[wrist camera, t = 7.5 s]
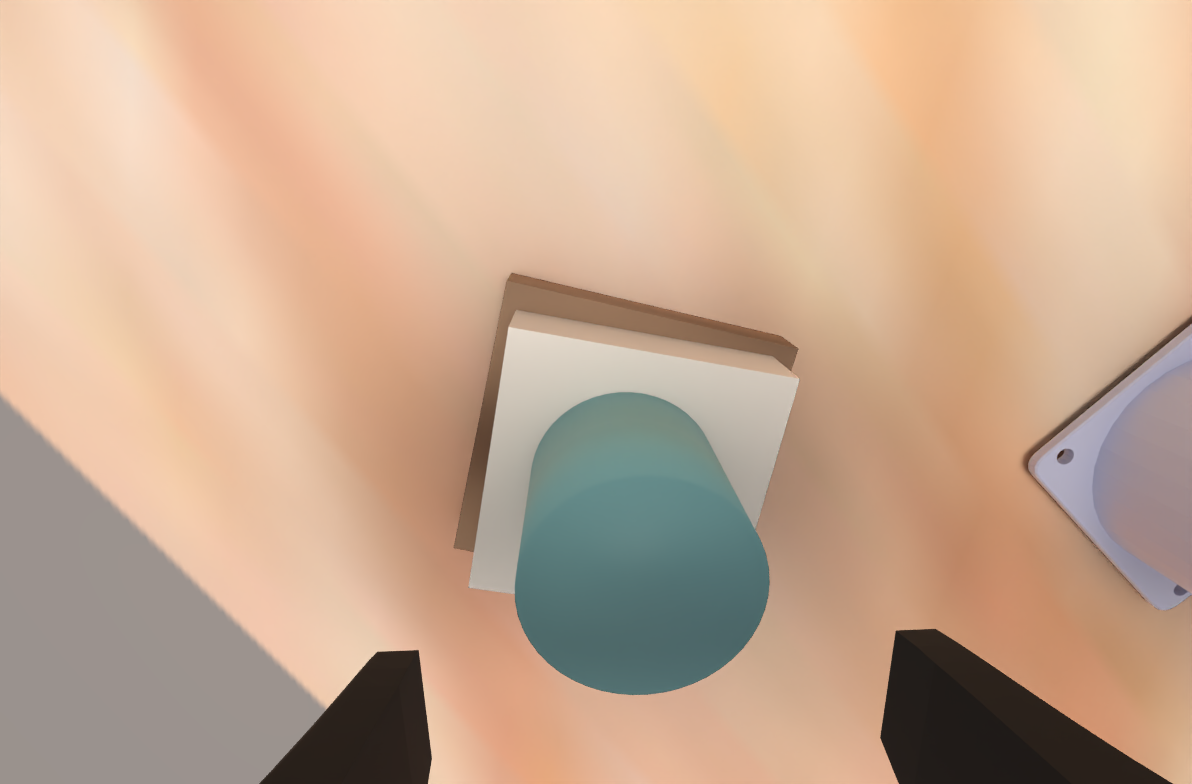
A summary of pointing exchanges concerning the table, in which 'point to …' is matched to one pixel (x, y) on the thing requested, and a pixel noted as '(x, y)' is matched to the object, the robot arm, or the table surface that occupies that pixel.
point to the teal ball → (636, 550)
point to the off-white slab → (610, 365)
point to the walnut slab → (601, 312)
